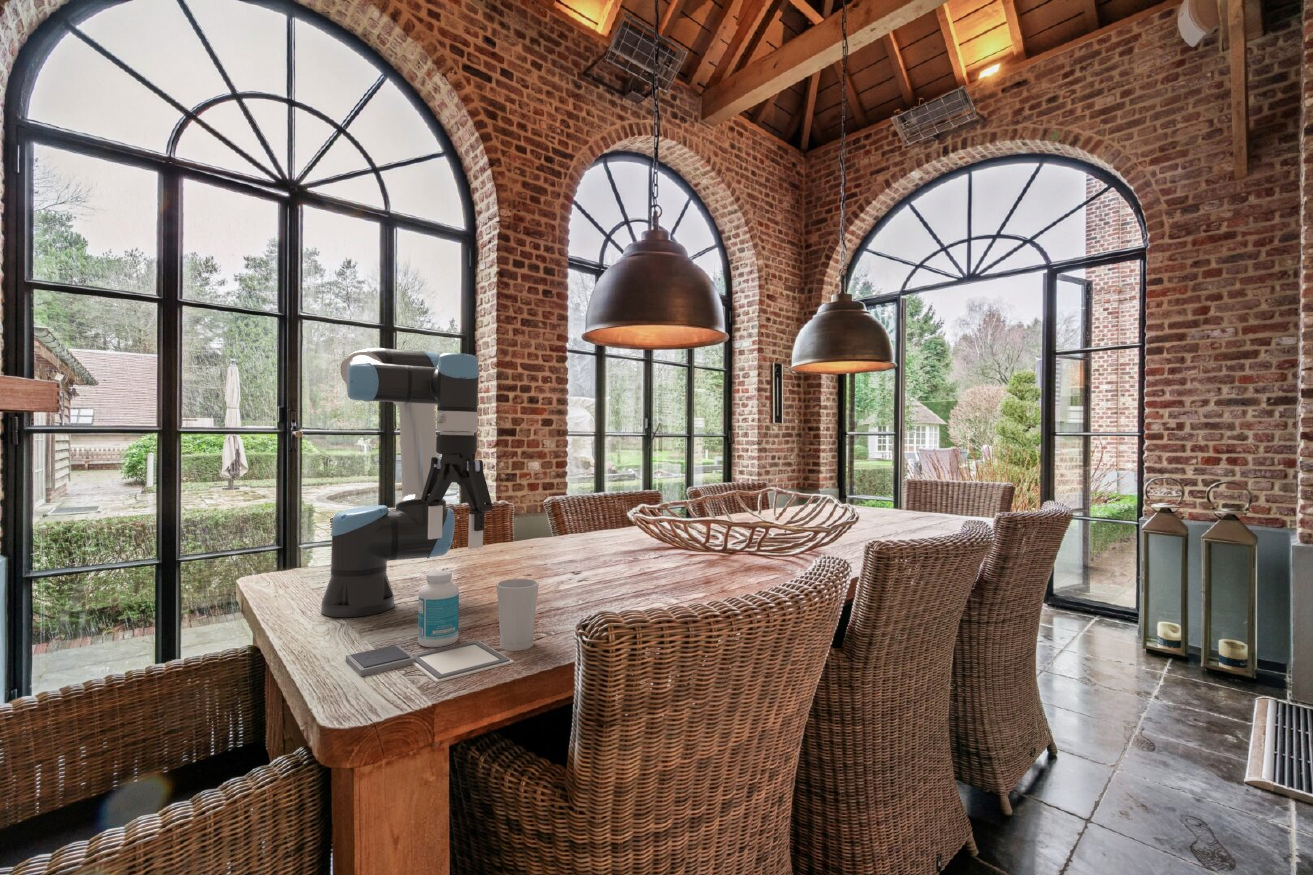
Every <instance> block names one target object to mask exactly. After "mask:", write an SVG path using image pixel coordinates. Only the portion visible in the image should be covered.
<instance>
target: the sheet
mask: <svg viewBox="0 0 1313 875" xmlns="http://www.w3.org/2000/svg"><path fill="white" fill-rule="evenodd" d="M411 655H412V656H414V657H415V658H416V662H413V664H412V665H413V666H414V667H416V668H417V669H418V670H419V671H420V672H422V673H423V674H424V675H426V676H427V677H428V678H429V679H431V680H432V681H434V683H436V684H438V683H441V682H446V681H448V680H449V681H450V680H453V679H457V678H461V677H464V676H468V675H473V674H476V673H479V672H480V673H481V672H484V671H487V670H491V669H496V668H499V667H503V666H506V665H507V666H508V665H510V664H513V663H514V662H515V661H514V660H513V659H511V658H509V657H507V656H506V655H504V654H503V653H501V652H498V651H497V650H495V649H494V648H492V647H491V646H488V645H487V644H485V643H483V642H481V641H480V640H473V641H468V642H463V643H461V644H460V643H459V644H455V645H451V646H450V645H449V646H445V647H440V648H437V649H433V650H428V651H423V652H418V653H415V654H411ZM514 664H515V663H514Z"/></svg>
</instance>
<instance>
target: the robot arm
mask: <svg viewBox="0 0 1313 875" xmlns="http://www.w3.org/2000/svg"><path fill="white" fill-rule="evenodd" d="M479 369H480V368H479V358H478V357H477V356H475V355H473V354H468V353H458V352H447V353H446V352H445V353H441V354H440V355H439V354H437V353H435V352H428V351H424V350H420V351H419V350H417V351H415V350H406V349H405V350H404V349H396V348H395V349H393V348H385V347H384V348H383V347H370V348H368V347H367V348H364V349H360V350H355V351H354V352H351V353H349V354H348V355H346V356H345V358H344V359H343V361H342V362H341V364H340V375H341V378H342V379H343V380H342V381H344V383H345V384H346V392H347V393H346V394H347V396H348V398H349V399H350V400H352V401H361V402H362V401H363V402H369V403H370V402H386V403H387V402H388V403H390V402H391V403H393V404H394V405H395V406H397V407H398V410H399V413H398V414H399V415H398V416H399V437H400V438H399V439H400V442H399V443H400V465H401V466H400V467H401V468H400V471H401V473H400V474H401V495H402V496H401V499H399V500H398V501H397V503H395V510H391V511H390V510H389V508H388V506H387V505H383V504H382V505H381V504H380V505H367V506H359V507H356V508H355V507H353V508H351V509H349V508H348V509H346V510H342V511H340V512H338V513H336V514H335V515H333V517H332V521H331V532H330V536H331V548H330V549H331V553H330V554H331V556H330V557H331V558H330V577H329V578H330V579H329V582H328V583H327V586H326V589H325V592H324V594H323V597H322V600H321V605H320V606H321V607H320V608H321V610H320V612H321V614H322V615H324V616H327V617H332V618H353V617H354V618H357V617H365V616H371V615H376V614H379V613H380V614H381V613H383V612H387V611H389V610H391V609H393V608H394V606H395V595H394V592H393V589H392V586H391V583H390V579H389V577H388V573H387V571H388V570H387V568H388V567H387V563H388V561H389V562H390V561H391V562H392V561H403V560H412V559H413V560H414V559H430V558H435V557H441V556H442V557H443V556H444V555H447V553H448V552H449V550H450V549H451V546H452V544H453V538H454V533H455V526H456V525H455V523H456V516H455V512H454V510H453V508H450V507H447V500H446V499H445V498H444V497H445V495H446V494H447V491H449V488H450V486H451V484H452V483H456V484H457V485H458V486H460V489H461V490H462V492H463V494H464V497H465V499H466V502H467V504H468V506H469V508H470V511H469V512H468V530H467V532H468V535H467V536H468V537H467V549H469V550H474V549H479V548H480V549H481V548H483V547H484V529H485V514H486V513H487V512H489V511H492V510H493V508H494V505H493V503H492V499H491V495H490V492H489V487H488V484H487V480H486V477H485V473H484V461H483V460H481V459H478V460H477V459H476V460H475V459H473V458H472V455H476V454H477V452H478V437H477V436H476V435H475V433H477V432H478V426H479V425H478V423H479V422H478V420H479V419H478V418H479V416H478V415H479V413H478V408H479V407H478V406H479V404H478V403H479V402H478V401H479V378H480V370H479ZM436 406H437V407H436ZM435 409H436V410H437V414H436V410H435ZM436 415H437V416H436ZM437 432H438V433H440V434H437ZM438 455H441V456H438Z"/></svg>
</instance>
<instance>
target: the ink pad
mask: <svg viewBox="0 0 1313 875" xmlns="http://www.w3.org/2000/svg"><path fill="white" fill-rule="evenodd" d="M412 655H413V654H411V653H409V651H407V650H405V649H404V648H403V647H402V646H400V645H399V644H394V645H390V646H385V647H381V648H375V649H370V650H366V651H361V652H357V653H356V652H355V653H352V654H346V655H345V662H346V663H347V665H349V666H350V667H351V668H352V669H353V670H354V671H355V673H357V674H358V675H359V676H360V677H363V676H368V675H372V674H377V673H381V672H386V671H389V670H394V669H398V668H403V667H407V666H412V665H413V662H416V658H415V657H414V656H412Z"/></svg>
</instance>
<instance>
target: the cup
mask: <svg viewBox="0 0 1313 875" xmlns="http://www.w3.org/2000/svg"><path fill="white" fill-rule="evenodd" d="M539 584H540V583H539V581H538V580H536V579H531V578H510V579H509V578H508V579H504V580H500V581H498V582H497V583H496V593H497V594H496V595H497V607H498V608H497V609H498V610H497V611H498V623H499V624H498V625H499V648H500V649H501V650H505V651H509V652H510V651H511V652H512V651H513V652H517V651H523V650H528V649H530V648H532V647H533V646H534V632H535V630H534V629H535V621H536V620H535V619H536V608H537V600H538V593H539Z"/></svg>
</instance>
